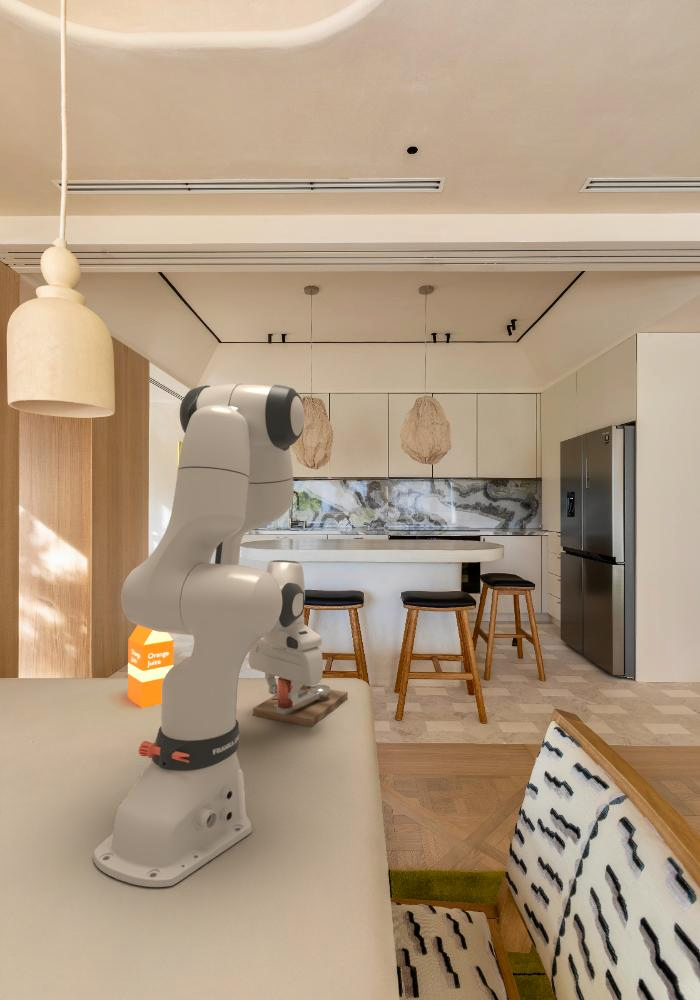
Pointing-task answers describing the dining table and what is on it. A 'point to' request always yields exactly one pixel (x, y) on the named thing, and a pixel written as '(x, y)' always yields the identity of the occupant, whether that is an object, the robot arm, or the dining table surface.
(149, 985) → the dining table surface
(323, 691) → the lever
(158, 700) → the orange juice
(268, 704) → the board
